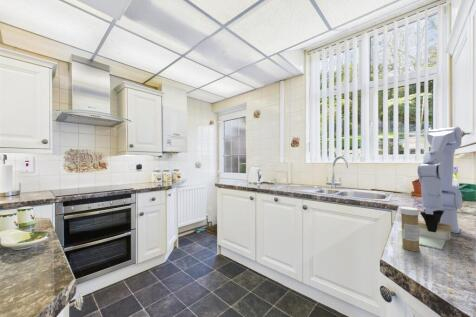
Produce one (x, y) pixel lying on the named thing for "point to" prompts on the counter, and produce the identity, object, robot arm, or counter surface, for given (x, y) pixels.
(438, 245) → the mat
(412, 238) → the sprinkles bottle
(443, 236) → the butter dish
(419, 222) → the lid
